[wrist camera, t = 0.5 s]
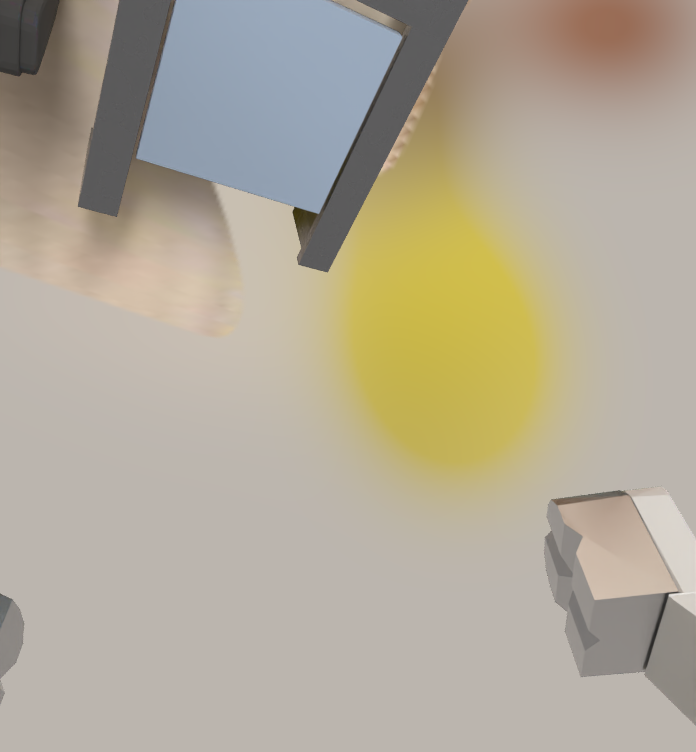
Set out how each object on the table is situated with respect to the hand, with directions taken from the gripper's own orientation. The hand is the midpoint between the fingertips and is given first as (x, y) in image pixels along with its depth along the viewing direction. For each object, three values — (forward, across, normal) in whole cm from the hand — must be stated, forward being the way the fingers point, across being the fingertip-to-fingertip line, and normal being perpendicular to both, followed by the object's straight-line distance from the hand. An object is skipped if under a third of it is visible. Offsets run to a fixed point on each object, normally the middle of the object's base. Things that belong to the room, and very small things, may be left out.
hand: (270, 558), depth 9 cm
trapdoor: (+41, +3, +4) cm, 42 cm away
